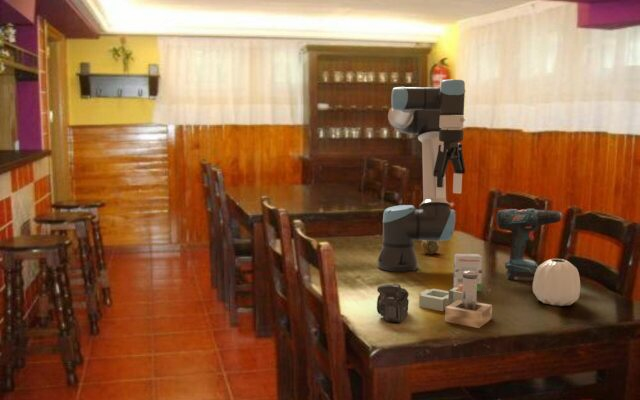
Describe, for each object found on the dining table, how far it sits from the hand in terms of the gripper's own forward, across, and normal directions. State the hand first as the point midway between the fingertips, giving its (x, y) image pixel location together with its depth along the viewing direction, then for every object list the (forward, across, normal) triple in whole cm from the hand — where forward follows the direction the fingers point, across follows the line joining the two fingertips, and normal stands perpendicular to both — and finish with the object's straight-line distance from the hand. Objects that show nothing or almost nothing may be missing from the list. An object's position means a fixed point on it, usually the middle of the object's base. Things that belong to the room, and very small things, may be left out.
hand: (449, 195), depth 205 cm
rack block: (+32, -24, -17) cm, 43 cm away
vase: (+32, +8, -33) cm, 47 cm away
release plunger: (+29, -16, -12) cm, 35 cm away
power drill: (+32, +33, -17) cm, 49 cm away
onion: (+32, +50, +28) cm, 66 cm away
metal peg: (+32, -24, -17) cm, 43 cm away
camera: (+32, -34, +2) cm, 47 cm away
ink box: (+32, +6, -5) cm, 33 cm away
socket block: (+32, -16, -7) cm, 36 cm away
